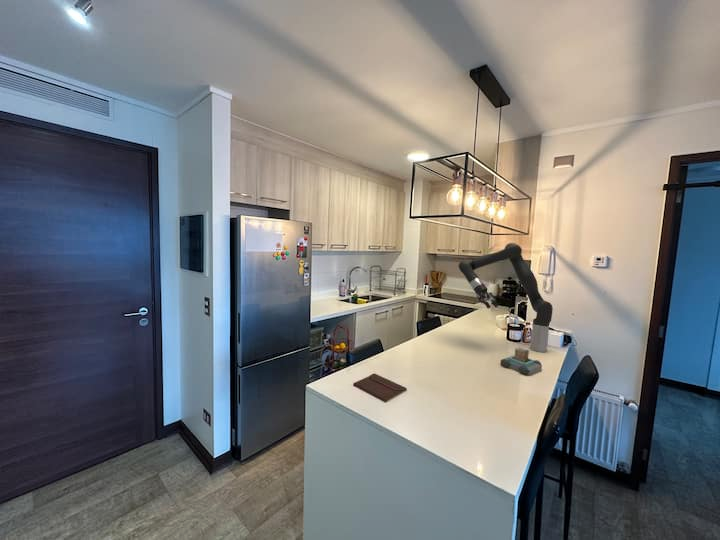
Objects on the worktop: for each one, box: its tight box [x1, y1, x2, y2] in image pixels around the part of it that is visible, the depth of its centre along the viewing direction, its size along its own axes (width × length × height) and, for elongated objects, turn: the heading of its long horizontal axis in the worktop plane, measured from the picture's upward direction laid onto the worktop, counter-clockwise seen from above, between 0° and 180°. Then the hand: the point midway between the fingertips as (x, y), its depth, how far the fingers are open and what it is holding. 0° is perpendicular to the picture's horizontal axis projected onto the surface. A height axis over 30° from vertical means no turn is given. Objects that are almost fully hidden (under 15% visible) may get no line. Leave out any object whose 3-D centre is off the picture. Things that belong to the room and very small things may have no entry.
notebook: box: [353, 373, 408, 403], centre depth 135 cm, size 15×20×2 cm
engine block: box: [514, 346, 530, 363], centre depth 162 cm, size 5×5×8 cm
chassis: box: [500, 355, 543, 377], centre depth 163 cm, size 16×16×5 cm
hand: (493, 307), depth 183 cm, fingers open, 8 cm apart
